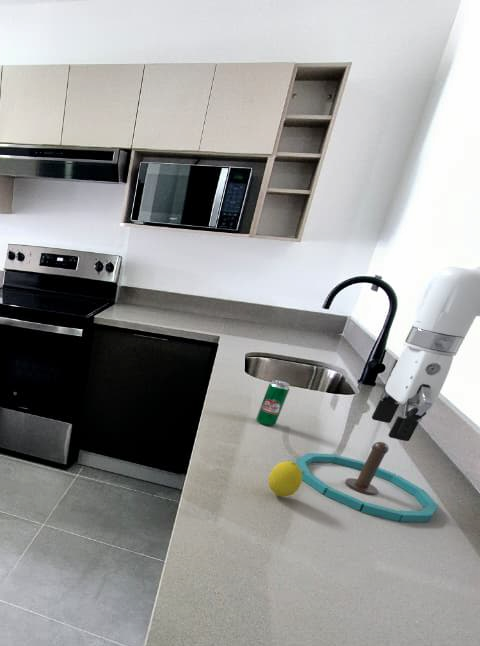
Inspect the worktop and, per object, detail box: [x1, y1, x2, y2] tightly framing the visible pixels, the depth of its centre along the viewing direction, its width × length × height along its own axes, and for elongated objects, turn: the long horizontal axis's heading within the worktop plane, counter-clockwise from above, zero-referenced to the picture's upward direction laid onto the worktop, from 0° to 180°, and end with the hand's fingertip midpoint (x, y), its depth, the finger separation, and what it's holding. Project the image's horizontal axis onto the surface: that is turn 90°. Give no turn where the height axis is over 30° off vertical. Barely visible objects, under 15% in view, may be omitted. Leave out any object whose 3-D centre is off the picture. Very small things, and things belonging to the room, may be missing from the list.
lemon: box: [268, 460, 303, 498], centre depth 99 cm, size 6×6×8 cm
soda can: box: [255, 379, 290, 427], centre depth 137 cm, size 5×5×12 cm
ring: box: [295, 452, 439, 523], centre depth 109 cm, size 26×26×2 cm
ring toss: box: [344, 441, 390, 496], centre depth 107 cm, size 6×6×11 cm
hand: (388, 429), depth 95 cm, fingers open, 9 cm apart
